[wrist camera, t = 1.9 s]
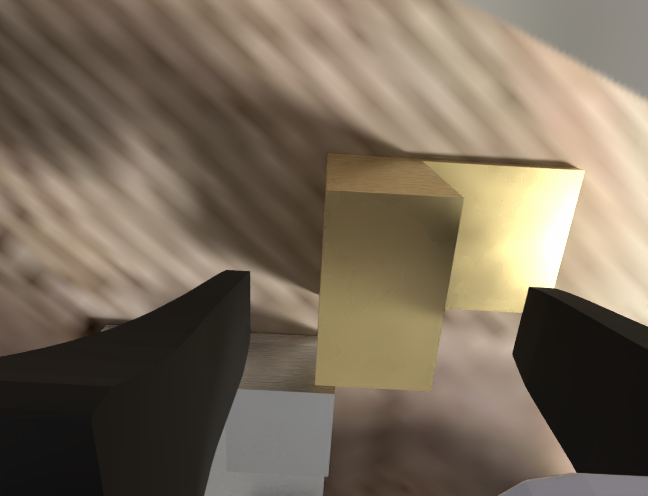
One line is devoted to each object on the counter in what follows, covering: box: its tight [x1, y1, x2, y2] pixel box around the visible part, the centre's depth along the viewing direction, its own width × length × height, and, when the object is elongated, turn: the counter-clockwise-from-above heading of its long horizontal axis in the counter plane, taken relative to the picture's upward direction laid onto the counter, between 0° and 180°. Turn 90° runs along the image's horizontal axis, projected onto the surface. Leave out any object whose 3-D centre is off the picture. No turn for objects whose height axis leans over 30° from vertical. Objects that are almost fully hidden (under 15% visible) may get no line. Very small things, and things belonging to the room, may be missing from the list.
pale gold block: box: [315, 153, 585, 391], centre depth 15 cm, size 10×6×6 cm, turn 87°
